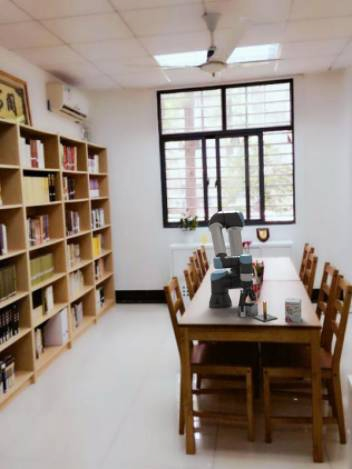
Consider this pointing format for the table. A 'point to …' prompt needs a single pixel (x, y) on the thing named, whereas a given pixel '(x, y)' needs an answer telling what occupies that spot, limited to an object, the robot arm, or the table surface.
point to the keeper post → (265, 315)
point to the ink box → (293, 310)
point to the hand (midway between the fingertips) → (248, 314)
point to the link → (249, 309)
